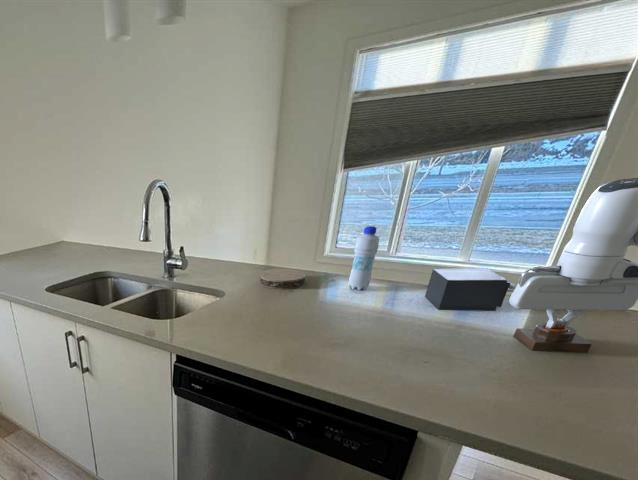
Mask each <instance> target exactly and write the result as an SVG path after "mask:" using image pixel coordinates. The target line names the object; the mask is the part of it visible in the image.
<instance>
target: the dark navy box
mask: <svg viewBox="0 0 638 480" xmlns="http://www.w3.org/2000/svg"><path fill="white" fill-rule="evenodd" d="M507 281H508V279H506V278H505V277H503V276H501V275H500V274H497V273H496V272H494V271H493V270H491V269H489V268H433V269H432V272H431V274H430V277H429V282H428V284H427V288H426V291H425V294H424V298H426V300H427V301H428V302H430V303H431V304H432V305H433V306H434V307H435V308H436V309H437V310H438V311H496V310H497V308H498V307H497V305H498V303H499V300H500V298H501V295H502V293H503V290H504V288H505V285H506V283H507Z"/></svg>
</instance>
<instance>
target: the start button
mask: <svg viewBox="0 0 638 480" xmlns="http://www.w3.org/2000/svg"><path fill="white" fill-rule="evenodd" d="M545 329H547V330H550V331H555V332H567V330H568V329H567V328H549V327H547V325H546V326H545Z"/></svg>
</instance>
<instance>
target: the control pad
mask: <svg viewBox="0 0 638 480" xmlns="http://www.w3.org/2000/svg"><path fill="white" fill-rule="evenodd" d="M546 325H547V322H542V323H537V324H536V326H535V328H516V329H515V331H514V333H513V338H514V339H516V340H517V341H519V342H520V343H521V344H522V345H524V347H526V348H528V349H529V350H530V351H532V352H533V351H534V352H555V353H556V352H558V353H559V352H560V353H561V352H562V353H585V354H587V353H588V352H589V350H590V349H591V347H592V343H591V342H589V341H588V340H586V339H584V338H583V337H581V336H580V335H578V334H577V330H576V329H575V328H573V327H572V326H568V327H567V329H568V330H567V332H555V331H550V330H547V329H545V326H546Z"/></svg>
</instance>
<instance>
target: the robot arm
mask: <svg viewBox="0 0 638 480" xmlns="http://www.w3.org/2000/svg"><path fill="white" fill-rule="evenodd" d="M630 246H633V247H638V177H632V178H622V179H617V180H612V181H609V182H606V183H604V184H601V185H600V186H599V187H597V188H596V189H595V190H594V191H593V193H592V194H591V195H590V197H588V199H587V201H586V203H585V204H584V206H583V208H582V209H581V211H580V213H579V215H578V217H577V219H576V221H575V224H574V226H573V229H572V235H571V238H570V240H569V242H568V243H567V244H566V245H564V248H563V250H562V252H561V254H560V257H559V259H558V261H557V263H556V265H550V266H549V265H548V266H539V265H538V266H532V267H531V268H528V269H526V270H525V271H523V272H522V273H521V274H520V278H519V280H518V283H517V285H516V288H515V290H514V291H513V292H512V293H511V295H510V297H509V300H508V302H509V304H510V305H511V306H512V307H513V308H515V309H517V310H533V311H534V310H537V311H538V310H539V311H540V310H541V311H546V314H547V318H548V320H547V322H546V323H547V327H549V328H567V327H569V325H570V323H572V321H574V320H575V319H577V318H579V317H580V316H582V313H583V311H598V312H599V311H603V312H605V311H607V312H626V311H628V310H629V309H631V308H632V307H634V306H635V305H636V303H637V301H638V262H635V261H632V260H630V259H627V258H624V257H625V256H626V254H627V252H628V248H629V247H630ZM562 311H567V314H565V315H564V316H563V317H562V318H558V316H557V315H561V313H562Z"/></svg>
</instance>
